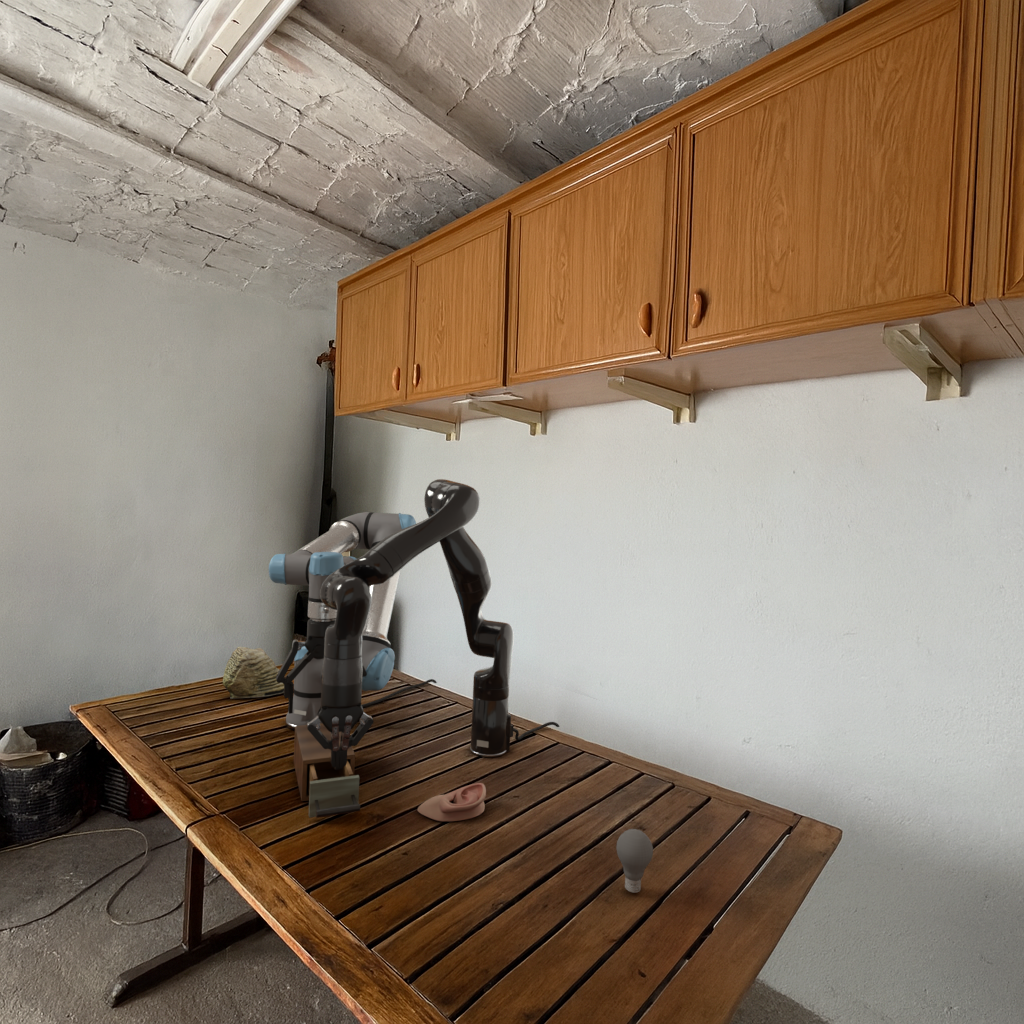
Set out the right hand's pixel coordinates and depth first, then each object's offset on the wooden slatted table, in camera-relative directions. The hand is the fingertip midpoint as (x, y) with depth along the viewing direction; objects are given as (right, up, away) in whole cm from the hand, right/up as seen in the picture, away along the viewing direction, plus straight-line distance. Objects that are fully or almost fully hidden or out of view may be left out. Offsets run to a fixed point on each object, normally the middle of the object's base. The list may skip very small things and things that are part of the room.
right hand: (338, 767), depth 122 cm
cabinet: (-10, -11, +21) cm, 26 cm away
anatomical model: (+21, -12, +9) cm, 26 cm away
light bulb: (+54, -14, -16) cm, 58 cm away
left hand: (-11, +3, +26) cm, 29 cm away
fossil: (-47, -8, +76) cm, 90 cm away
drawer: (-4, -10, +9) cm, 15 cm away
